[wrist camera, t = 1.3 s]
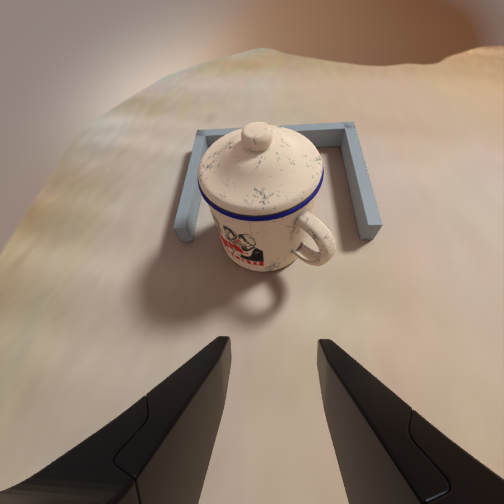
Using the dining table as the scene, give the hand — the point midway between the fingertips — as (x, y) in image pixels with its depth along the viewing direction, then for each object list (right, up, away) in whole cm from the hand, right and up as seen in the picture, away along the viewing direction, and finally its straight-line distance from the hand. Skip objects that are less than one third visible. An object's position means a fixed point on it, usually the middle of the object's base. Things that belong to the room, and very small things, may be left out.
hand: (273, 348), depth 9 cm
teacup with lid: (+1, +4, +16) cm, 17 cm away
